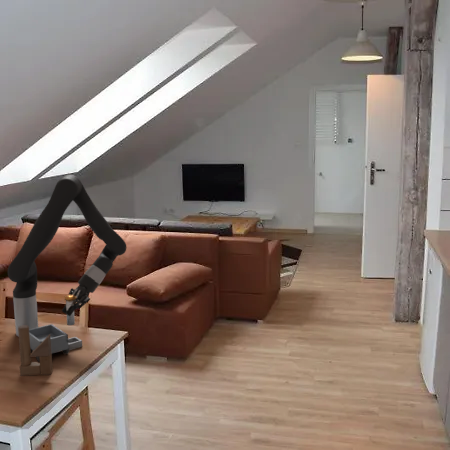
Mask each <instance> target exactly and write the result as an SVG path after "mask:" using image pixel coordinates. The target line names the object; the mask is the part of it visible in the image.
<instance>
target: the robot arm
mask: <svg viewBox="0 0 450 450" xmlns="http://www.w3.org/2000/svg"><path fill="white" fill-rule="evenodd" d="M72 202H74V204H76V206H77V207H78V208H79V210H80V212H81V214H82V216H83V217H84V220H85V222H86V223H87V225H88V226H89V228H90V230H91V231H92V232H93V233H94V235H95V236H96V237H97V238H98V239H99V240H101V241H102V242H103V243H104V244H105V246H104V247H103V248H102V249H101V250H102V251H101V252H100V254H99V255H98V257H96V259H95V260H94V262H93V263H92V264H91V266H89V268H88V269H87V270H86V271H85V272H84V274H83V275H82V276H81V277H80V279H79V280H78V281H77V284H78V286H77V287H76V288H73V287H72V288H70V290H69V292H68V294H67V295H75V299H74V302H73V304H72V306H70V307H69V309H68V310H67V311H66V304H65V305H64V307H62V309H61V312H62V313H64V314H66V316H67V315H68V316H70V315H71V314H72V313H73V312H74V313H75V310H77V309H78V310H79V309H81V308H83V306H85V305H86V304H87V303H88V302H89V301H90V300H91V298H90V297H89V295H90V293H91V294H93V293H94V292H95V291H96V290H97V289H98V287H99V286H100V284H101V283H102V282H103V281H104V278H105V277H106V276H107V274H108V273H109V272H110V270H111V269H112V267H113V265H114V264H113V263H114V262H115V260H116V258H117V257H118V256H122V255H124V254H125V253H126V252H127V244H126V242H125V240H124V239H123V238H122V236H120V235H119V233H118V232H116V230H114V228H112V226H111V225H110V223H109V222H108V221H107V220H106V219H105V217H104V216H103V214H102V213H101V212H100V210H99V208H97V206H96V205H95V204H94V202H93V201H92V199H91V197H90V195H89V194H88V192H87V190H86V188H85V187H84V185H83V183H82V181H81V179H80V178H79V177H78V176H76V175H73V174H66V175H64V176H62V177H61V178H60V179H58V181H57V182H56V185H55V186H54V189H53V192H52V194H51V196H50V198H49V200H48V203H46V205H45V207H44V208H43V209H42V212H41V213H40V214H39V215H38V217H37V219H36V220H35V222H34V224H33V225H32V227H31V229H30V232H29V233H28V235H27V237H26V239H25V241H23V245H22V247H21V248H20V250H19V251H18V253H17V254H16V256H15V257H14V258H13V260H12V261H11V263H10V264H9V266H8V268H7V276H8V278H9V279H10V281H11V282H14V283H16V285H15V286H14V288H13V290H12V299H13V300H12V301H13V310H14V313H13V314H14V323H15V325H14V326H15V335H16V337H19V334H18V327H19V326H22V325H28V326H29V330H30V329H34V328H38V327H39V318H38V316H39V315H38V303H37V288H38V268H37V264H36V262H35V261H36V259H37V258H38V257H39V255H40V254H42V252H43V251H44V250H45V249H46V248H47V247H48V246H49V244H50V243H51V242H52V240H54V239H53V238H54V236H56V233H57V232H58V229H59V227H60V226H61V222H62V219H63V216H64V214H65V212H66V211H67V209H68V208H69V206H70V204H71V203H72Z"/></svg>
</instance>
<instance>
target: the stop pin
mask: <svg viewBox="0 0 450 450" xmlns="http://www.w3.org/2000/svg"><path fill="white" fill-rule="evenodd" d="M63 296H64V297H63V298H64V301H65V305H66V311H67V310H68V309H69V307H70V306H72V304H73V302H74V299H75V295H68V294H66V295H63ZM75 321H76V319H75V311H74V312H73V313H72V314H71V315H70V316H68V315H67V314H66V326H75V324H76V322H75Z"/></svg>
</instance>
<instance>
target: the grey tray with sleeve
mask: <svg viewBox="0 0 450 450" xmlns="http://www.w3.org/2000/svg"><path fill="white" fill-rule="evenodd" d="M49 334H50V337H51V353H52V354H55V353H59V352H62V353H63V355H68V354H70V351H72V350H74V349H75V350H76V349H79V348H82V347H83V340H82V339H80V338H78V337H77V336H72V337H69V334H68V333H67V332H65V331H64V330H61V329H60V328H59V327H57V326H56V325H54V324H53V323H50V324H46V325H42V326H38V328H34V329H30V330H29V336H30V349H31V353H32V352H33V351H34V350H35V349H36V348H37V347H38V346H39V345H40V344H41V343H42V342H43V341H44V340H45V339H46V338H47V336H48V335H49ZM39 357H40V356H39ZM39 357H35V358H36V362H38V363H40V358H39Z"/></svg>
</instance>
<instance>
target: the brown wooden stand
mask: <svg viewBox="0 0 450 450" xmlns="http://www.w3.org/2000/svg"><path fill="white" fill-rule="evenodd" d="M18 334H19V336H18V345H19V357H20V358H19V359H20V365H19V376H21V377H22V376H24V377H25V376H46V375H47V376H49V375H50V376H51V375H52V373H53V371H54V369H53V358H52V357H53V353H51V337H50V334H49V335H48V336H47V338H46V339H45V340H44V341H43V342H42V343H41V344H40V345H39V346H38V347H37V348H36V349H35V350H34V351H33V352H32V353H31V349H30V336H29V326H28V325H22V326H19V327H18ZM39 356H40V357H39ZM32 357H33V358H34V357H35V358H36V357H39V358H40V362H38V361H32Z"/></svg>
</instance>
